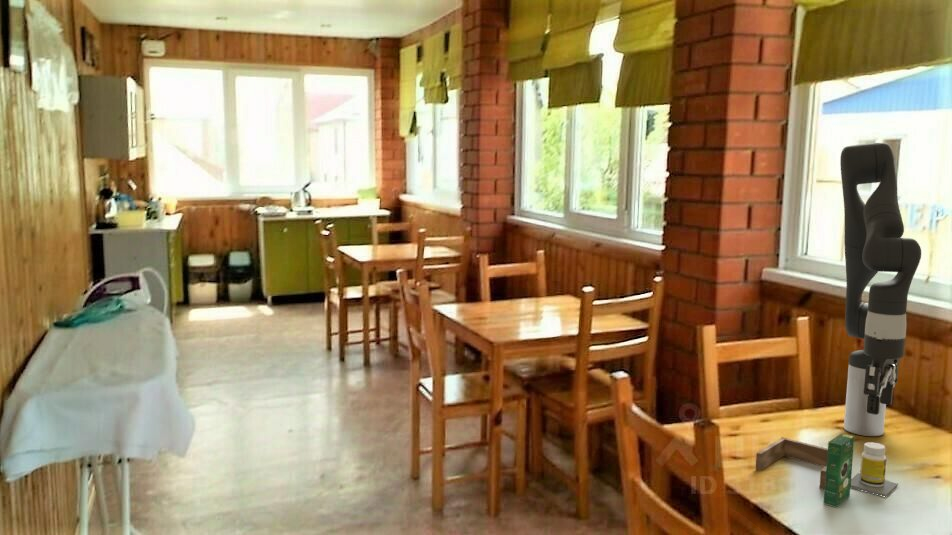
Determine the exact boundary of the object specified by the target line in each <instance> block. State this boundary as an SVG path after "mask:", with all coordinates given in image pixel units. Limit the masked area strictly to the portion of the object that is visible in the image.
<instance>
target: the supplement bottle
mask: <svg viewBox="0 0 952 535" xmlns="http://www.w3.org/2000/svg"><path fill="white" fill-rule="evenodd" d="M885 454H886V446H885V445H884V444H882V443H879V442H872V441H870V442H865V443H864V444H863V451H862V453H861V455H860V459H861V460H860V469H859V470H860V471H859V473H860V482H861V483H862V484H864V485H867V486H870V487H882V486H884V482H885V480H886V469H887V468H886V467H887V455H885Z"/></svg>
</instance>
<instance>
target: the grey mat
mask: <svg viewBox="0 0 952 535" xmlns="http://www.w3.org/2000/svg"><path fill="white" fill-rule="evenodd" d="M897 486H899V484H898V483H896V482H893V481H889V480H886V479H885V482H884V486H882V487H870V486H867V485H864V484H862V483H861V482H860V472H858V473H857V474H855V475H854V476H853V477H851V488H850V489H853V488H855V489H854V490H857V489H859V490H858V491H860V490H863V491H862V492H864V491H867V492H870V493H869V494H871V493H874V494H873V495H875V494H878V495H882V496H885V497H886V496H887V497H889V495H890V494H891V493H892V492H894V491H895V490H896V487H897ZM867 492H866V493H867ZM878 495H877V496H878ZM882 496H881V497H882ZM885 497H884V498H885ZM887 497H886V498H887Z"/></svg>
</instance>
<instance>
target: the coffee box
mask: <svg viewBox="0 0 952 535" xmlns="http://www.w3.org/2000/svg"><path fill="white" fill-rule="evenodd" d="M854 443H855V436H854V435H851V434H847V433H840V434H839V435H837V436H835V437H834V438H832V439H830V440H829V441H828V442H827V449H828V454H827V467H826V479H825V490H824V493H823V495H824V496H823V504H824V505H827V506H830V507H833V508H836V507H838V506H840V505H841V504H842V502H844V501H845V500H846V499H848V498H849V497H850V496H851V489H852V488H851V479H852V474H853V458H854V445H855V444H854Z"/></svg>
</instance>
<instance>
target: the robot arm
mask: <svg viewBox="0 0 952 535" xmlns="http://www.w3.org/2000/svg"><path fill="white" fill-rule="evenodd" d="M896 166H897V165H896V158H895V154H894V150H893V148H892V146H891V145H890V144H889V143H888V142H881V141H880V142H871V143H865V144H864V143H862V144H854V145H853V144H852V145H848V146H845V147H843V148H842V149H841V153H840V176H841V186H842V188H841V189H842V195H843V208H844V209H843V210H844V242H843V243H844V257H845V258H844V259H845V260H844V261H845V274H846V275H845V276H846V277H845V278H846V286H845V287H846V290H845V291H846V293H845V314H844V323H845V325H844V326H845V331H846V333H847V335H848V336H849V337H852V338H856V339H863V349H860V350H854V351H851V353H850V354H849V355H848V356H849V357H848V368H847V369H848V370H847V382H846V396H845V406H844V408H845V409H844V421H843V428H844V430H845V431H847V432H849V433H852V434H856V435H860V436H865V437H879V436H882V435H884V432H885V419H886V407H887V405H888V406H890V405H892V403H893V395H894V392H893V391H894V388H895V386H896V384H897V383H898V381H899V380H898V378H899V364H900V363H899V362H900V361H899V360H900V359H903V358H904V356H905V351H906V350H905V348H906V337H907V308H908V307H907V306H908V296H909V291H910V288H911V284H912V281H913V279H914V276H915V273H916V271H917V270H918V267H919V265H920V263H921V259H922V247H921V246H920V244H919V242H918V241H917V240H916V239H914V238H911V237H910V238H909V237H903V235H904V232H905V226H904V222H903V218H902V214H901V210H900V206H899V205H900V204H899V199H898V180H897V168H896ZM877 183H879V184H878V185H877V187H876V189H874V190H873V192H872V193H871V194H870V196H869V197H868V199H867V200H866V202H864V201H863V199H862V197H861V195H860V193H859V191H858V190H859V189H858V185H865V184H866V185H867V184H877ZM878 272H880V273H881V272H884V273H885V272H886V273H887V272H888V273H896V275H895V276H894V277H893V278H892V279H890V280H887V281H886V280H885V281H882V282H876V283H873V284H871V285H870V287H869V290H868V291H869V292H868V302H864V301H862V297H863V293H864V291H865V290H866V287H868V285H869V283H871V281H872V279H873V278H874V277H875V276H876V275H877V274H878Z"/></svg>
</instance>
